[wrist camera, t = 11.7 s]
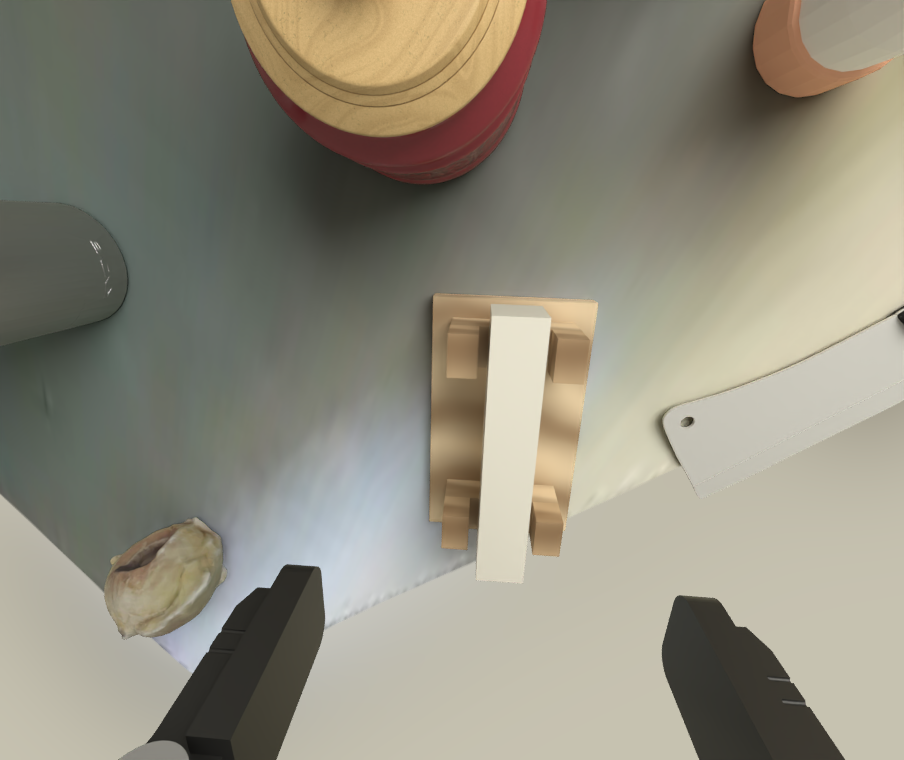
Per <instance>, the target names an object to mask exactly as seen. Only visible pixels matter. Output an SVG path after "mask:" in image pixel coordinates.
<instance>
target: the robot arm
mask: <svg viewBox="0 0 904 760" xmlns="http://www.w3.org/2000/svg"><path fill="white" fill-rule="evenodd" d="M126 291H127V272H126V266H125V263H124V260H123V256H122V254H121V252H120V250H119V248H118V246H117V244H116V242H115V241H114V240H113V238H112V237H111V235H110V234H109V233H108V231H107V230H106V229H105V228H104V227H103V226H102V225H101V224H100V223H99V222H98V221H97V220H95V219H94V218H92V217H91V216H90V215H88V214H87V213H85V212H83V211H81V210H79V209H77V208H75V207H73V206H69V205H65V204H61V203H47V202H27V201H7V200H0V346H4V345H8V344H11V343H15V342H19V341H23V340H27V339H31V338H35V337H39V336H43V335H46V334H50V333H55V332H59V331H63V330H67V329H70V328H74V327H78V326H82V325H86V324H90V323H94V322H98V321H101V320H103V319H105V318H108V317H110V316H111V315H112V314H113V313H114V312H116V311H117V310H118V308H119V307H120V305H121V304H122V302H123V300H124V297H125V294H126ZM324 624H325V611H324V600H323V589H322V577H321V570H320V568H319V567H315V566H301V565H288V564H287V565H285V566H284V567H283V568H282V569H281V571H280V573H279V574H278V576H277V578H276V580H275V581H274V583H273V585H272V586H271V588H256V589H255V590H254V591H253V592H252V593H251V594H249V595H248V596H247V597H246V598H245V599H244V600H243V601H241V602H240V603H239V604H238V605H237V606H236V607H235V609H234V610H233V612H232V613H231V615H230V617H229V618H228V620H227V621H226V623H225V624H224V626H223V627H222V631H221V633H219V634H218V635H217V637H216V638H215V640H214V641H213V643H212V645H211V646H210V649H209V652H208V653H206V654H205V656H204V657H203V659H202V660H201V662H200V663H199V665H198V666H197V668H196V670H195V671H194V673H193V674H192V676H191V678H190V679H189V680H188V682H187V684H186V685H185V687H184V688H183V690H182V692H181V693H180V695H179V696H178V698H177V699H176V701H175V702H174V704H173V705H172V707H171V708H170V710H169V712H168V713H167V715H166V716H165V718H164V719H163V721H162V723H161V724H160V726H159V727H158V729H157V730H156V732H155V733H154V735H153V736H152V737H151V738H150V740H149V741H148V742H147V743H146V744H145V745H142V746H140V747H138V748H136V749H134V750H132V751H130V752H129V753H127V754H126V755H124V756H123V757H121V758H120V759H118V760H276V759H277V756H278V754H279V751H280V749H281V746H282V743H283V741H284V738H285V736H286V733H287V730H288V728H289V725H290V722H291V720H292V717H293V715H294V712H295V710H296V707H297V704H298V702H299V699H300V696H301V694H302V691H303V688H304V686H305V683H306V681H307V678H308V676H309V673H310V670H311V668H312V665H313V663H314V660H315V657H316V655H317V652H318V650H319V647H320V644H321V640H322V636H323V631H324ZM662 661H663V667H664V672H665V675H666V678H667V680H668V683H669V685H670V688H671V690H672V693H673V695H674V698H675V700H676V703H677V705H678V708H679V710H680V713H681V715H682V718H683V720H684V723H685V725H686V728H687V730H688V733H689V735H690V738H691V740H692V742H693V745H694V748H695V750H696V753H697V755H698V758H699V760H845V759H844V757H843V756H842V754H841V753H840V752H839V750H838V749H837V747H836V746H835V744H834V743H833V741H832V740H831V738H830V737H829V735H828V734H827V732H826V731H825V729H824V728H823V726H822V725H821V723H820V722H819V720H818V719H817V718H816V716H815V714H814V713H813V711H812V710H811V709H810V707H807V706H806V704H805V700H804V698H803V697H802V695H801V694H800V692H799V691H798V689H797V688H796V686H795V685H794V683H791V682H790V677H789V676H788V674H787V673H786V672H785V670H784V668H783V667H782V666H781V664H780V663H779V661H778V660H777V658H776V657H775V655H774V654H773V652H772V651H771V650H770V649H769V648H768V647H767V646H766V645H765V644H764V643H762V642H761V641H760V640H759V639H758V638H757V637H756V636H755V635H754V634H753V633H752V632H751V631H750V630H748V629H747V628H746V627H736V626H735V625H734V623H733V621H732V620H731V618H730V616H729V615H728V613H727V612H726V610H725V608H724V607H723V606H722V604H721V603H720V602H719V601H718V600H717V599H715V598H706V597H692V596H677V597H676V598H675V600H674V603H673V607H672V611H671V615H670V618H669V622H668V626H667V629H666V633H665V637H664V641H663V645H662Z"/></svg>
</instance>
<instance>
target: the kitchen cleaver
mask: <svg viewBox="0 0 904 760" xmlns="http://www.w3.org/2000/svg"><path fill="white" fill-rule="evenodd" d="M903 400H904V307H902V308H900V309H899V310H897V311H895V312H894V313H893V314H892V315H891V316H890V317H888V318H886V319H884V320H882V321H880V322H878V323H876V324H874V325H872V326H870V327H868V328H866V329H864V330H863V331H861V332H859V333H857V334H855V335H853V336H851V337H849V338H847V339H845V340H843V341H841V342H839V343H837V344H835V345H833V346H831V347H829V348H827V349H825V350H823V351H821V352H819V353H817V354H815V355H813V356H811V357H809V358H807V359H805V360H803V361H801V362H799V363H796V364H794V365H792V366H790V367H787V368H785V369H783V370H780V371H778V372H776V373H773V374H771V375H768V376H766V377H763V378H760V379H758V380H755V381H753V382H750V383H747V384H745V385H742V386H739V387H737V388H734V389H731V390H728V391H725V392H722V393H719V394H716V395H712V396H709V397H705V398H702V399H698V400H695V401H691V402H688V403H684V404H681V405H678V406H675V407H673V408H671V409H669V410H668V411H667V412H666V413H665V414H664V416H663V419H662V423H663V427H664V430H665V433H666V435H667V437H668V440H669V442H670V444H671V446H672V448H673V451H674V453H675V455H676V457H677V459H678V460H679V462H680V464H681V466H682V468H683V469H684V471H685V473H686V475H687V476H688V478H689V480H690V482H691V484H692V486H693V489H694V491H695V493H696V494H697V496H698V497H699V498H701V499H703V498H706V497H707V496H710V495H712V494H714V493H716V492H718V491H721V490H723V489H725V488H727V487H729V486H731V485H733V484H736V483H738V482H740V481H742V480H744V479H746V478H748V477H750V476H752V475H754V474H756V473H758V472H760V471H762V470H764V469H766V468H768V467H770V466H772V465H774V464H776V463H778V462H780V461H782V460H785V459H787V458H789V457H791V456H793V455H795V454H797V453H799V452H801V451H803V450H805V449H807V448H809V447H811V446H813V445H815V444H817V443H819V442H821V441H823V440H825V439H827V438H829V437H831V436H833V435H835V434H837V433H839V432H841V431H843V430H845V429H847V428H849V427H851V426H854V425H856V424H858V423H860V422H862V421H864V420H866V419H868V418H870V417H872V416H874V415H876V414H878V413H880V412H882V411H884V410H886V409H888V408H890V407H892V406H894V405H896V404H898V403H900V402H902V401H903ZM685 417H693V422H692V424H691V425H690V426H687V427H682V426H681V421H682V420H683V419H684V418H685Z"/></svg>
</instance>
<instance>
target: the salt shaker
mask: <svg viewBox="0 0 904 760" xmlns="http://www.w3.org/2000/svg"><path fill="white" fill-rule="evenodd" d="M753 52H754V58H755V63H756V68H757V70H758V71H759V73H760V75H761V76H762V78H763V80H764V81H765V83H766V84H767V85H769V86H770V87H771V88H773V89H774V90H776V91H777V92H778V93H780V94H784V95H788V96H792V97H797V98H798V97H805V96H813V95H818V94H820V93H823V92H826V91H828V90H831V89H834V88H836V87H839V86H841V85H844V84H847V83H849V82H852V81H855V80H857V79H859V78H862V77H864V76H866V75H868V74H870V73H873V72H875V71H877V70H879V69H881V68H882V67H883V66H884V65H886V64H887V63H888V62H889V61H891V60H892V59H893V58H895V57H898V56H901V55H903V54H904V0H765V2H764V3H763V6H762V9H761V11H760V14H759V17H758V19H757V22H756V25H755V31H754V40H753Z"/></svg>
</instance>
